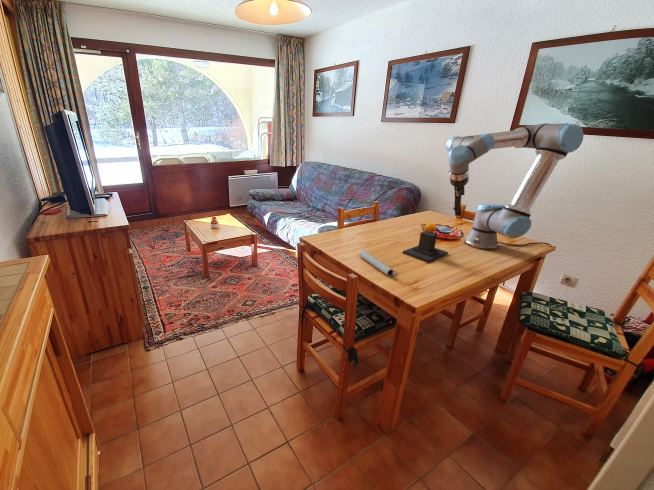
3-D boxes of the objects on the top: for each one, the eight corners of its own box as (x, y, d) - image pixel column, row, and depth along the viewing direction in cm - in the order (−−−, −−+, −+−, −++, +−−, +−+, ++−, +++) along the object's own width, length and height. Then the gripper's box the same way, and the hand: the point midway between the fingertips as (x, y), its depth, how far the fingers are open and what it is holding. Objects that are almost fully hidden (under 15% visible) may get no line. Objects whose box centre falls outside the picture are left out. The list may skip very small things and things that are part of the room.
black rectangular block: (422, 248, 164) (426, 230, 160) (433, 252, 159) (437, 234, 155) (417, 250, 161) (420, 232, 157) (428, 254, 157) (431, 236, 153)
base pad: (422, 245, 171) (423, 241, 170) (447, 254, 160) (448, 249, 159) (402, 253, 161) (403, 248, 160) (427, 262, 151) (428, 257, 150)
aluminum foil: (358, 257, 157) (359, 250, 155) (370, 255, 159) (370, 249, 157) (386, 276, 137) (387, 269, 136) (399, 274, 139) (400, 267, 138)
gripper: (453, 157, 151) (454, 186, 167) (446, 196, 141) (448, 223, 157) (471, 155, 147) (470, 186, 162) (465, 196, 137) (465, 224, 152)
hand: (459, 204), depth 160 cm, fingers open, 13 cm apart
